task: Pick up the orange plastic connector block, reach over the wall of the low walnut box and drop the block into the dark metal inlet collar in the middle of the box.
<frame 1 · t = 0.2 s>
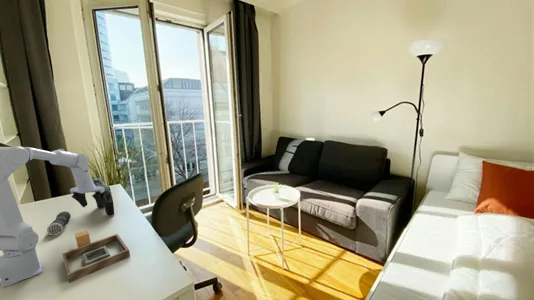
hand: (93, 205, 112), 10 cm above the table, fingers open, 7 cm apart
walled box: (97, 258, 91), on the table
connector: (84, 246, 99), on the table
flashlight: (61, 228, 115), on the table
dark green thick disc: (106, 210, 131), on the table
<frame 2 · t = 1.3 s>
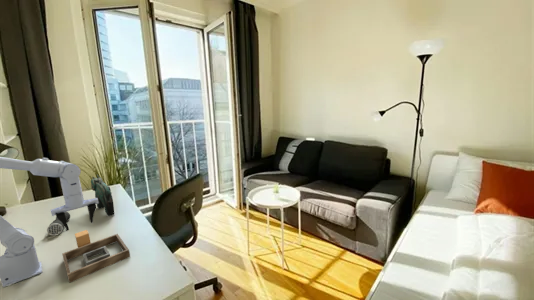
hand: (79, 225, 97), 9 cm above the table, fingers open, 7 cm apart
nothing on the table moved.
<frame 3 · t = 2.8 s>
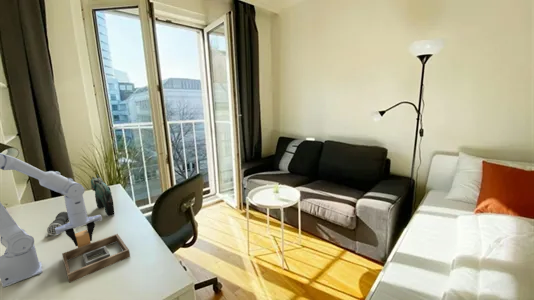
hand: (83, 242, 98), 2 cm above the table, fingers closed on connector, 4 cm apart
connector: (84, 246, 99), on the table, touching gripper
everything else where it was.
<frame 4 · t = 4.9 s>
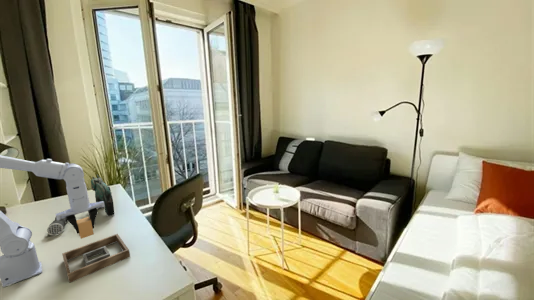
hand: (85, 230, 93), 9 cm above the table, fingers closed on connector, 4 cm apart
connector: (86, 234, 94), point 7 cm above the table, touching gripper
everything else where it was.
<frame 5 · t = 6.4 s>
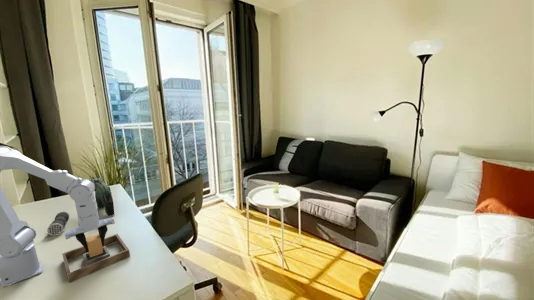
hand: (95, 248, 90), 4 cm above the table, fingers closed on connector, 4 cm apart
connector: (95, 252, 91), point 2 cm above the table, touching gripper
everything else where it was.
when the fingers open (3 cm above the table, at t = 7.3 s): connector drops 1 cm, resting in walled box.
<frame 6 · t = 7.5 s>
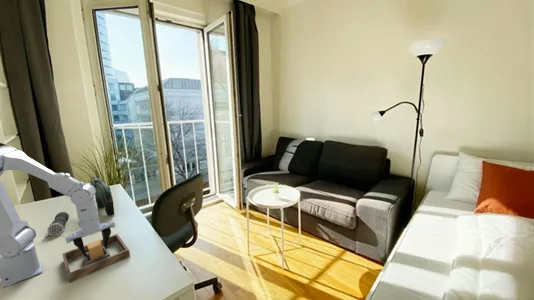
hand: (95, 251, 90), 3 cm above the table, fingers open, 6 cm apart
connector: (97, 258, 91), resting in walled box
everything else where it was.
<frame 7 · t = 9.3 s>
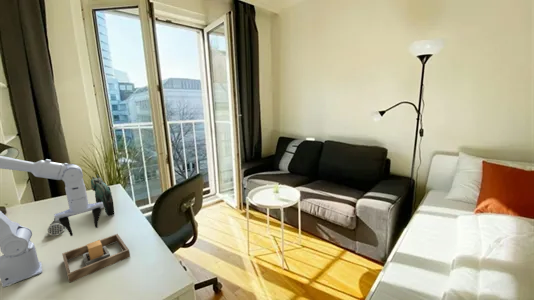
hand: (84, 230, 93), 9 cm above the table, fingers open, 7 cm apart
nothing on the table moved.
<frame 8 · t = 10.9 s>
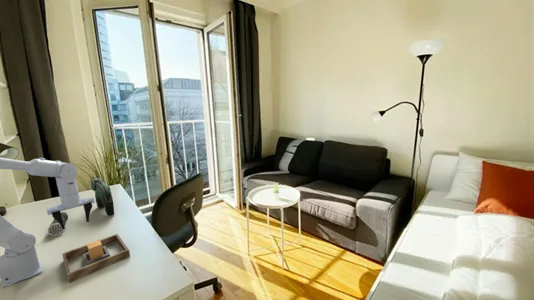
hand: (76, 224, 97), 9 cm above the table, fingers open, 7 cm apart
nothing on the table moved.
at the end: connector 0.2 cm off-centre on the walled box, point 0.0 cm above the walled box's base; connector tilted 0°; the gripper is holding nothing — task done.
